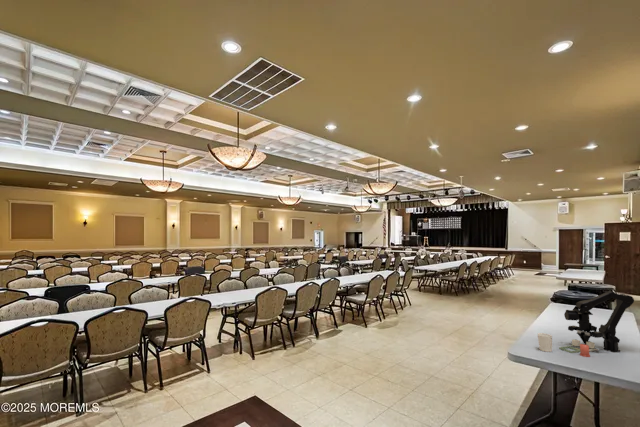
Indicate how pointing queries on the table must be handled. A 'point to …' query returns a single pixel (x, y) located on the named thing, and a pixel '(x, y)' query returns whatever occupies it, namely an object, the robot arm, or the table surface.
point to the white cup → (545, 342)
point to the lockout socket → (569, 350)
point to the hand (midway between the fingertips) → (585, 344)
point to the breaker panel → (589, 348)
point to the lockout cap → (584, 350)
